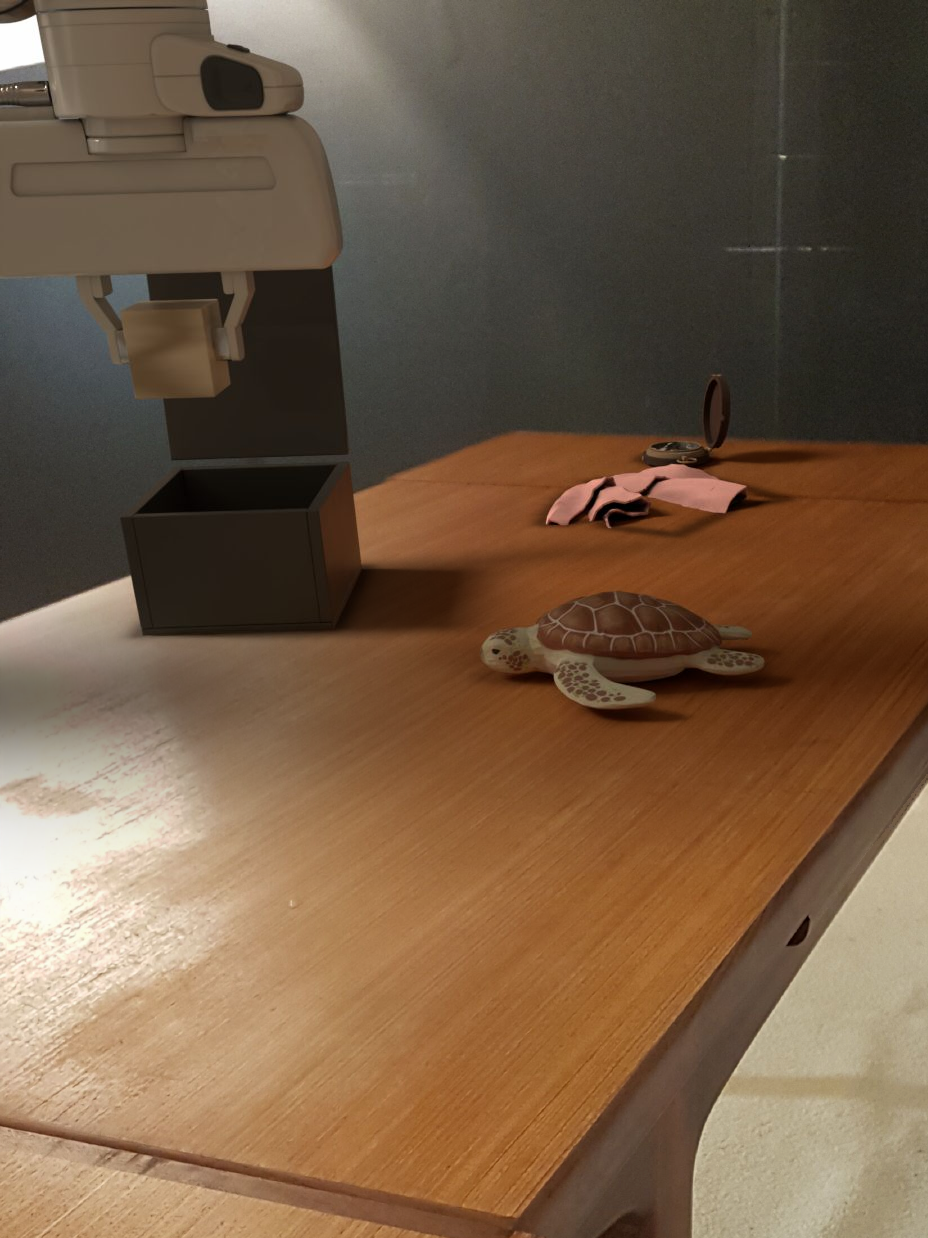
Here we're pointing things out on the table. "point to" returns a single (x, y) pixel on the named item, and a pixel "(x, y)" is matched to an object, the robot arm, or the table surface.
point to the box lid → (266, 371)
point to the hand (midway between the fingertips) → (180, 361)
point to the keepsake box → (244, 548)
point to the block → (174, 349)
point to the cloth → (647, 493)
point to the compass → (713, 430)
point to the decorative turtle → (617, 647)
